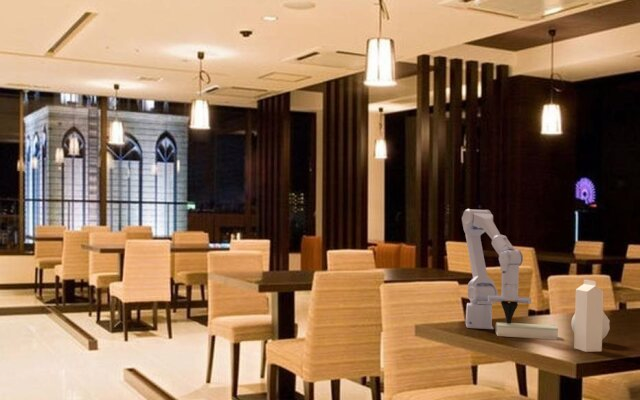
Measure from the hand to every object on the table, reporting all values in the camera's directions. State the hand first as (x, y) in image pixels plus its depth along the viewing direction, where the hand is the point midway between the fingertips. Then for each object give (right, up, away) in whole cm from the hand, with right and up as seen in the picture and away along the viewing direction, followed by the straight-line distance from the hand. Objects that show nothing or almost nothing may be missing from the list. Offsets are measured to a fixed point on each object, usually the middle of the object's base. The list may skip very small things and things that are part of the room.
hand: (508, 323), depth 253 cm
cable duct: (+6, -4, -1) cm, 7 cm away
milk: (+19, -5, -24) cm, 31 cm away
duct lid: (+6, -1, -1) cm, 6 cm away
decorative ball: (+25, -5, -10) cm, 27 cm away
